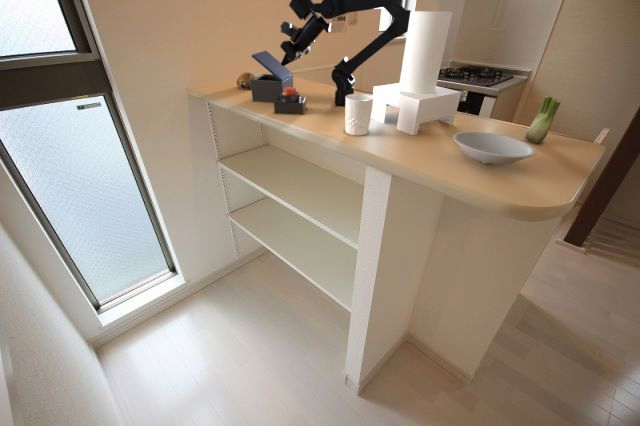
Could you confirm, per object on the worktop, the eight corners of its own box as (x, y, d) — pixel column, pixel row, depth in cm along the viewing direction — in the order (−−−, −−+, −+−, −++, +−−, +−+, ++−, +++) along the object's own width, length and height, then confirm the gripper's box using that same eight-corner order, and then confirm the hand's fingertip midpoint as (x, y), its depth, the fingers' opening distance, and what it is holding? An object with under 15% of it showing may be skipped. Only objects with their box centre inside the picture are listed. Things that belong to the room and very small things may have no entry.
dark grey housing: (252, 101, 116) (250, 79, 112) (265, 93, 126) (263, 73, 122) (283, 103, 114) (281, 82, 109) (293, 96, 124) (292, 75, 119)
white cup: (369, 128, 92) (373, 94, 87) (370, 137, 86) (374, 101, 80) (343, 126, 93) (345, 93, 87) (342, 135, 86) (345, 100, 81)
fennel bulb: (543, 146, 82) (564, 101, 75) (523, 142, 84) (541, 98, 77) (542, 139, 86) (562, 96, 79) (523, 136, 88) (540, 93, 81)
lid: (251, 56, 107) (252, 54, 106) (265, 52, 117) (266, 50, 117) (281, 81, 109) (282, 79, 109) (292, 75, 119) (293, 73, 119)
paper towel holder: (412, 135, 87) (436, 12, 70) (370, 118, 100) (381, 10, 83) (452, 124, 96) (483, 12, 79) (409, 110, 109) (426, 11, 92)
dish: (531, 162, 73) (540, 143, 70) (520, 184, 64) (529, 163, 61) (458, 144, 82) (463, 126, 79) (439, 161, 73) (444, 142, 70)
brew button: (296, 93, 105) (296, 86, 103) (294, 95, 101) (294, 89, 100) (285, 92, 105) (285, 86, 104) (283, 95, 102) (282, 89, 100)
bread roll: (262, 95, 138) (265, 77, 136) (246, 89, 129) (250, 69, 127) (246, 92, 142) (249, 75, 140) (230, 86, 133) (233, 67, 131)
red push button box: (306, 108, 109) (305, 91, 106) (303, 114, 103) (302, 96, 99) (279, 107, 110) (277, 90, 106) (274, 113, 103) (273, 95, 100)
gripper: (302, 11, 109) (275, 44, 117) (284, 12, 94) (255, 50, 102) (322, 37, 112) (295, 67, 120) (308, 42, 97) (278, 76, 105)
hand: (281, 65), depth 112 cm, fingers closed
